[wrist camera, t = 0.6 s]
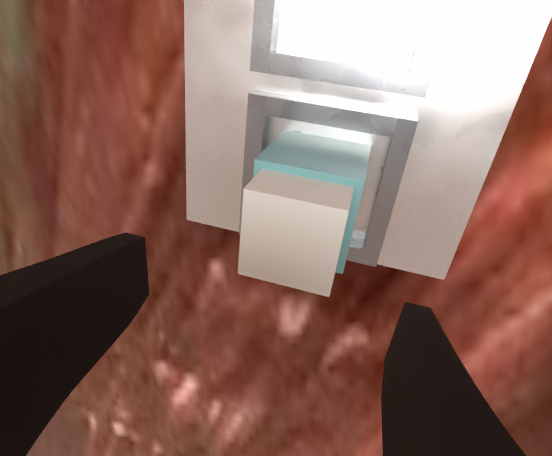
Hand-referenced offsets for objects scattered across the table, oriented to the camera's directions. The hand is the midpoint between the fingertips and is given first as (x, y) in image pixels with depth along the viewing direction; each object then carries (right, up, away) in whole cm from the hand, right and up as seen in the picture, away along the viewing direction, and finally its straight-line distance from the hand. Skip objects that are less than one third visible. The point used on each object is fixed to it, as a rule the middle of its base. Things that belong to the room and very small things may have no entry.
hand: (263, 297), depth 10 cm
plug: (+2, +4, +8) cm, 9 cm away
